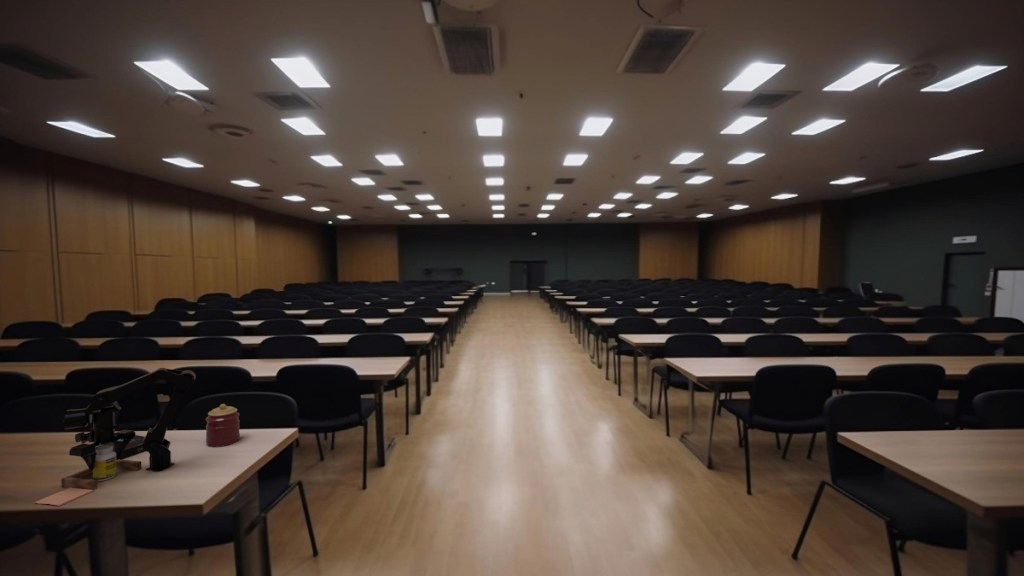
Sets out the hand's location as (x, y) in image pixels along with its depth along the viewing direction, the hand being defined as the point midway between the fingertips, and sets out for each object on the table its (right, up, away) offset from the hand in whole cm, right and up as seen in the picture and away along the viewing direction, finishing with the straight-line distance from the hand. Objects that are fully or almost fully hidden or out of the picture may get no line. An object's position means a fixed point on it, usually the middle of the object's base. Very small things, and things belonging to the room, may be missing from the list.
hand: (104, 464), depth 159 cm
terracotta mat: (0, -5, -14) cm, 15 cm away
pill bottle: (0, -5, 0) cm, 5 cm away
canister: (+21, -5, +35) cm, 41 cm away
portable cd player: (-15, -5, +24) cm, 28 cm away
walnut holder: (0, -5, 0) cm, 5 cm away
